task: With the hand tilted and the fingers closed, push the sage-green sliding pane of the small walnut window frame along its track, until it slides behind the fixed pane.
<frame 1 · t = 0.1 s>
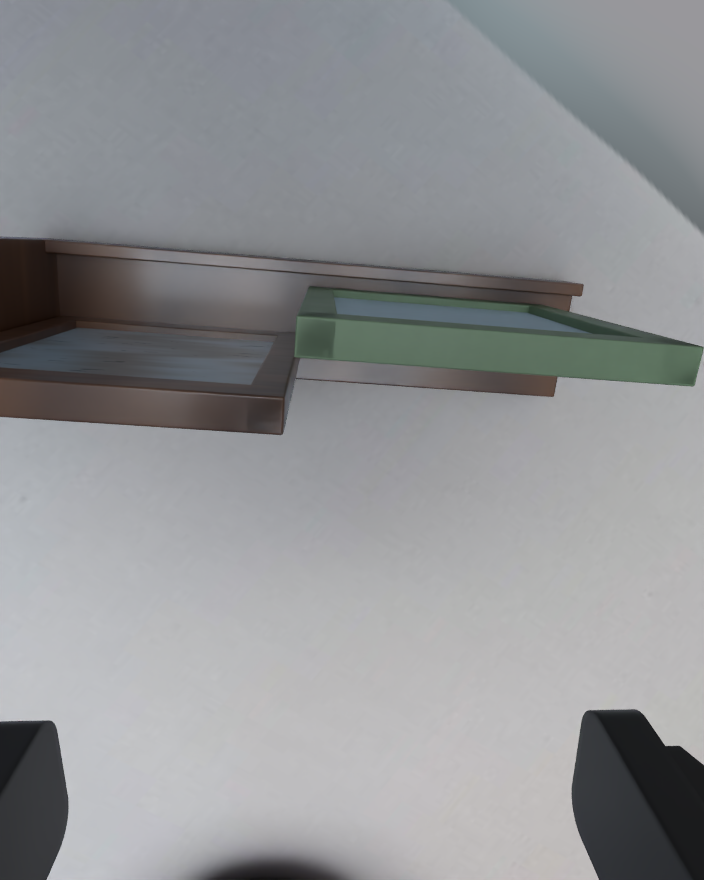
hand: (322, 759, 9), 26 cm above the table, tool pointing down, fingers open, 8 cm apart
window frame: (307, 318, 33), on the table
sliding pane: (453, 323, 25), point 9 cm above the table, slide at 0.0 cm
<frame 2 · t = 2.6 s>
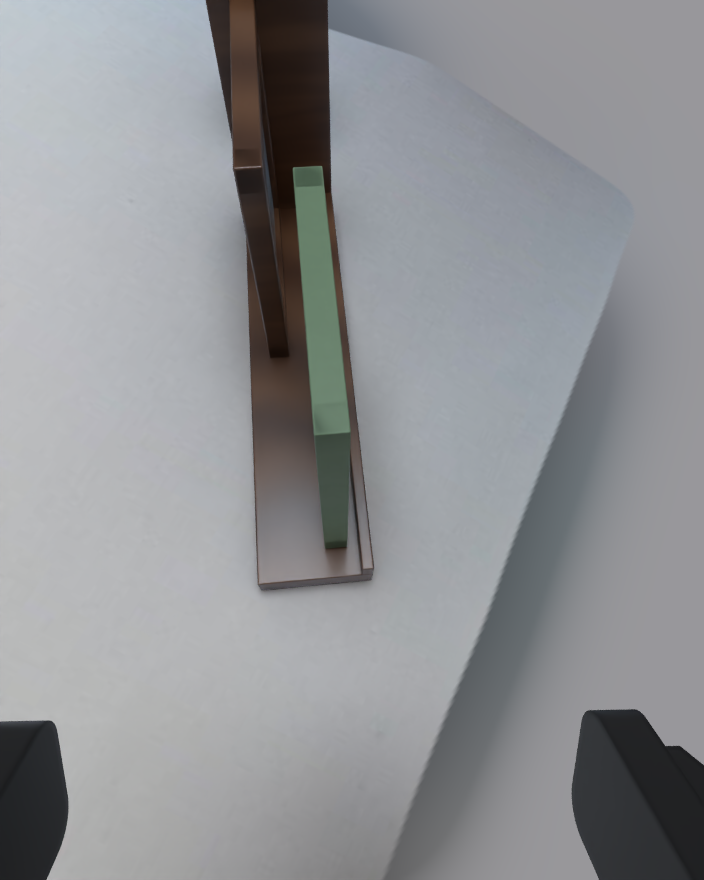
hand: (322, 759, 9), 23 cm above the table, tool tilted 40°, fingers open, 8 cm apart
window frame: (301, 371, 39), on the table
sliding pane: (323, 382, 29), point 9 cm above the table, slide at 0.0 cm
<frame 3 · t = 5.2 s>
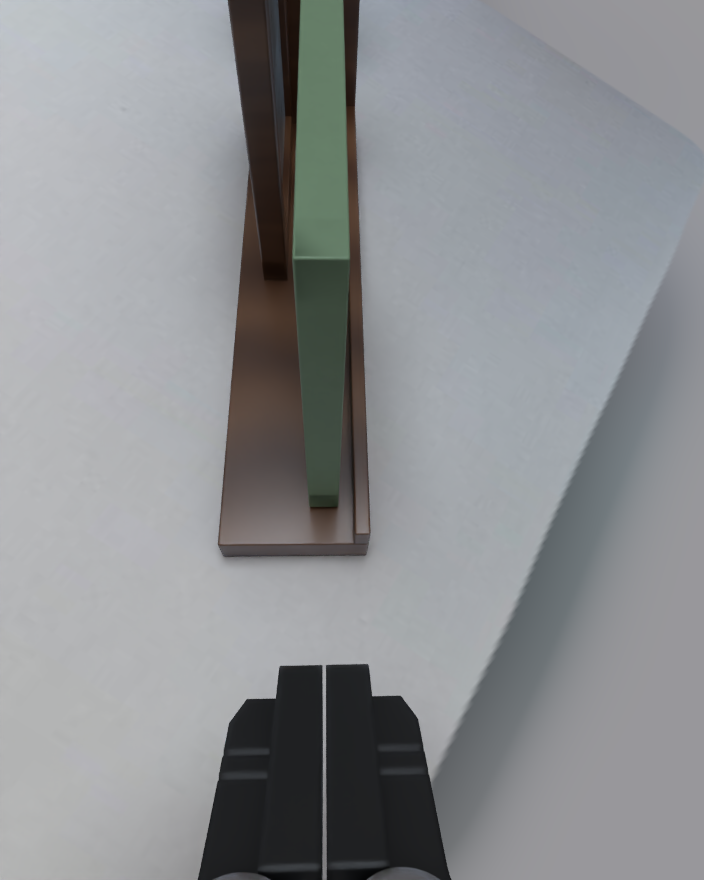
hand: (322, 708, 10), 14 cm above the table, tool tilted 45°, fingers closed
window frame: (300, 303, 32), on the table
sliding pane: (322, 274, 22), point 9 cm above the table, slide at 0.0 cm
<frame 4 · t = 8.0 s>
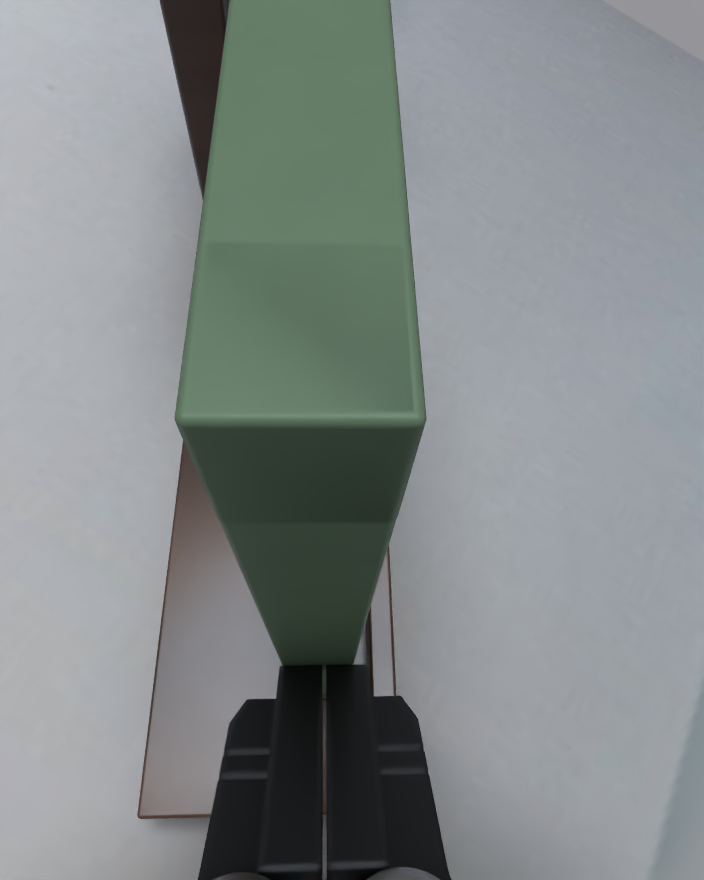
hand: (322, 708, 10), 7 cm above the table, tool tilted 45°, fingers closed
window frame: (288, 367, 22), on the table
sliding pane: (319, 328, 12), point 9 cm above the table, slide at 1.0 cm, touching gripper
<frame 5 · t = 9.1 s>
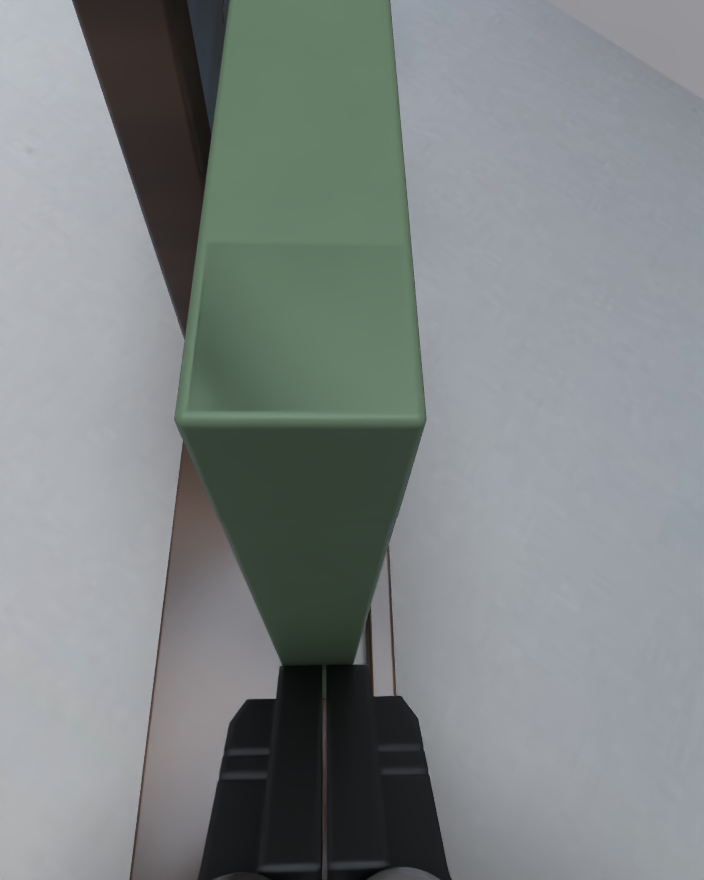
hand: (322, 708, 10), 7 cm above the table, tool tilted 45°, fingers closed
window frame: (284, 480, 20), on the table
sliding pane: (319, 328, 12), point 9 cm above the table, slide at 5.3 cm, touching gripper
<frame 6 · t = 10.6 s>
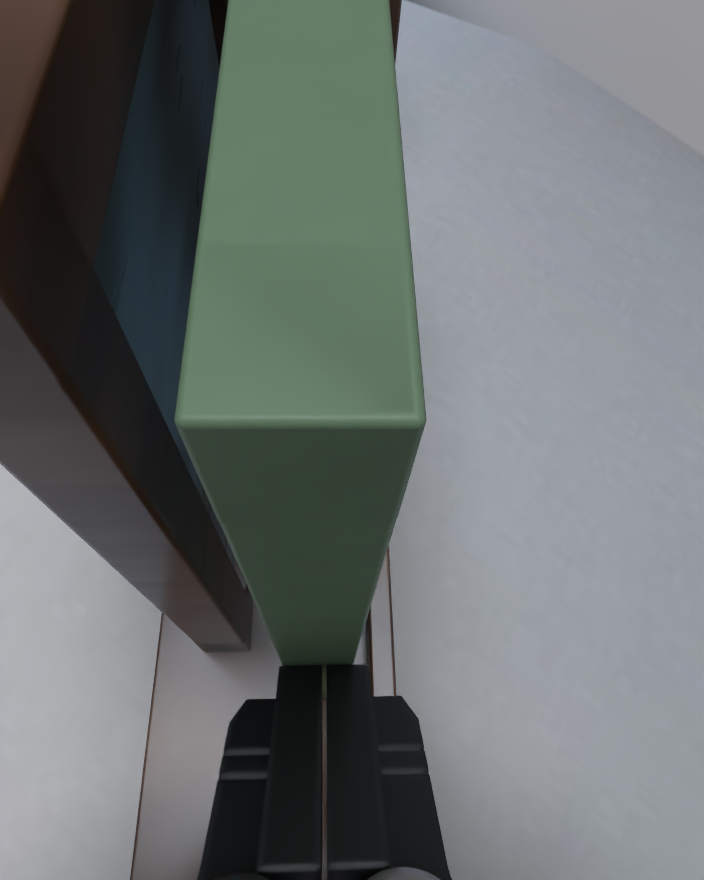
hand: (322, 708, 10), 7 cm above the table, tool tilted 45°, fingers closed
window frame: (277, 667, 17), on the table
sliding pane: (318, 328, 12), point 9 cm above the table, slide at 11.0 cm, touching gripper
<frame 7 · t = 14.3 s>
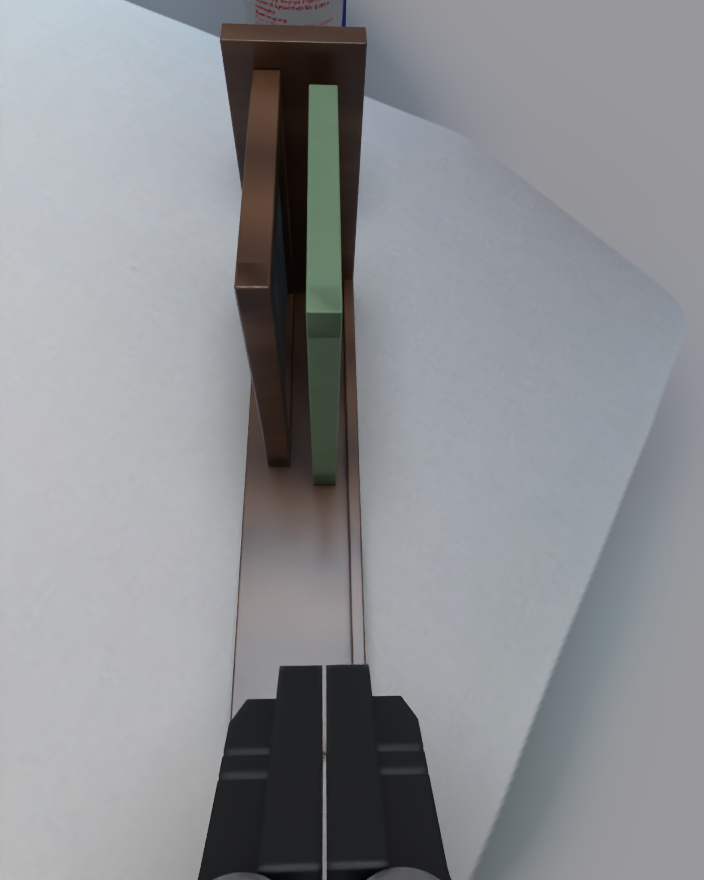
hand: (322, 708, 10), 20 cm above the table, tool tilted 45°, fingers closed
beverage can: (302, 191, 45), on the table
window frame: (302, 482, 34), on the table
sliding pane: (323, 308, 29), point 9 cm above the table, slide at 11.1 cm
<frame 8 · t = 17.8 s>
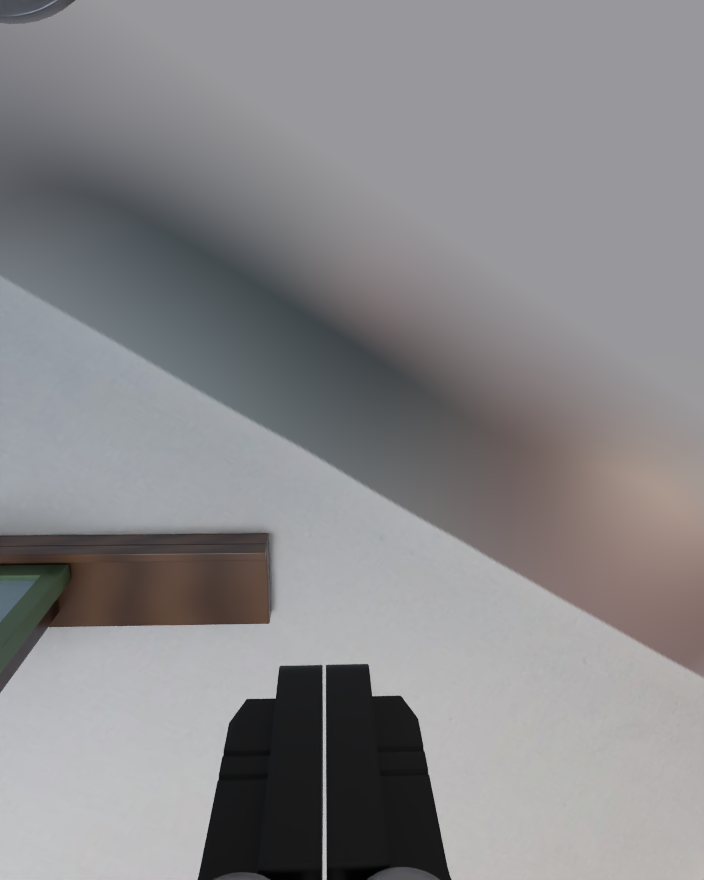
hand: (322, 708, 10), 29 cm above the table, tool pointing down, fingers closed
window frame: (68, 575, 41), on the table
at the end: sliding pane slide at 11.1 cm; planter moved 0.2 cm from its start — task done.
